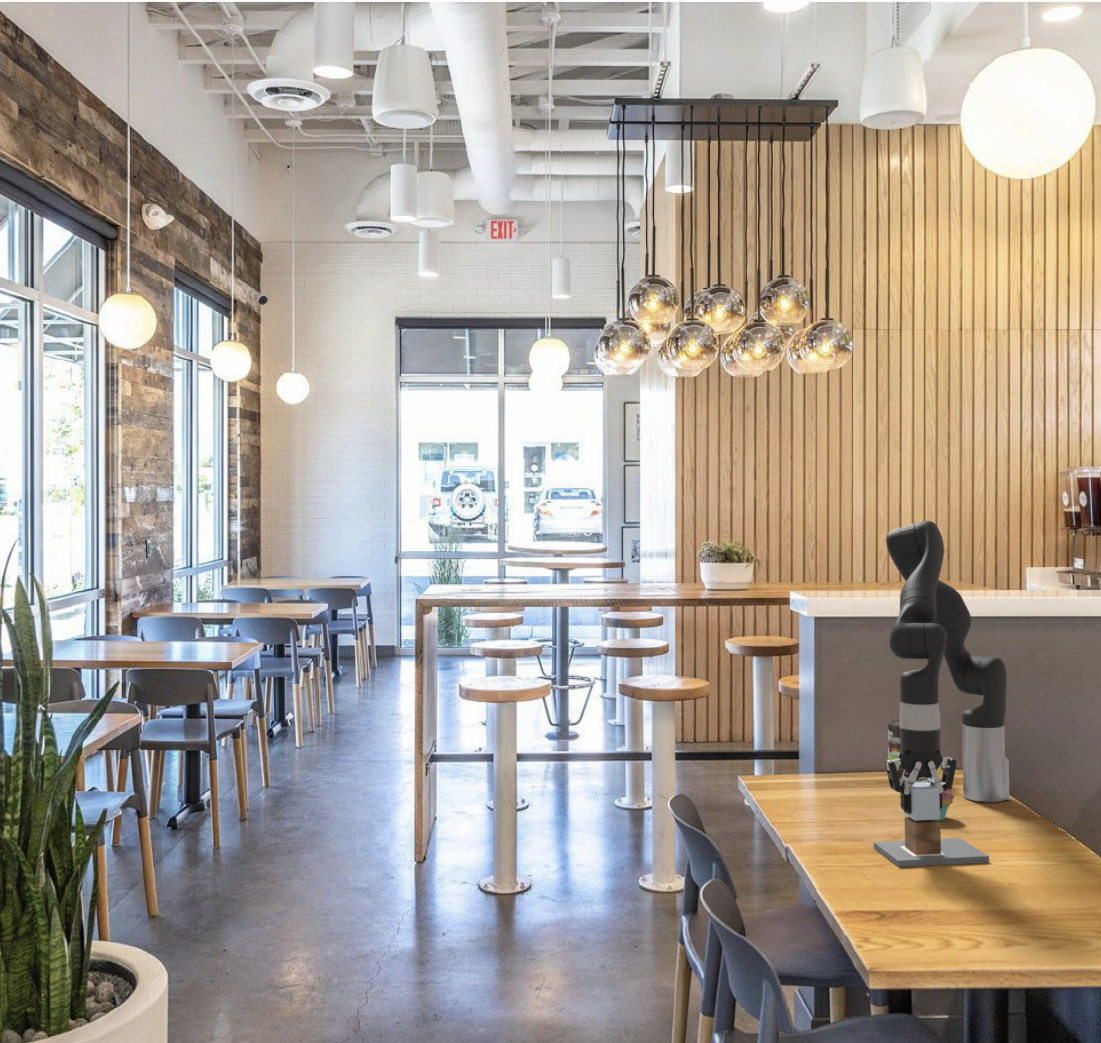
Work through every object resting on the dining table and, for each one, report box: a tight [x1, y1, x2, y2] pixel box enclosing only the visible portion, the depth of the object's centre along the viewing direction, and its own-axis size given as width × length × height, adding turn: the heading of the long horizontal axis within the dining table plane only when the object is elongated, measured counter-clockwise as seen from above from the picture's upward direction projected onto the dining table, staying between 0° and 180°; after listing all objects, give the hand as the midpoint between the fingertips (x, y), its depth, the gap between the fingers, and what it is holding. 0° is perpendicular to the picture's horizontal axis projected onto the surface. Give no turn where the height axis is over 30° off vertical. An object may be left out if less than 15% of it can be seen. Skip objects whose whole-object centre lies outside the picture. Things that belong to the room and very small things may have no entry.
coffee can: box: [886, 718, 929, 783], centre depth 276 cm, size 10×10×14 cm
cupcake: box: [935, 764, 954, 822], centre depth 240 cm, size 9×8×12 cm
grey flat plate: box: [873, 837, 990, 868], centre depth 214 cm, size 18×12×1 cm, turn 95°
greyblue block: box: [903, 781, 940, 821], centre depth 213 cm, size 5×5×6 cm
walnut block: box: [904, 816, 942, 855], centre depth 213 cm, size 5×5×6 cm
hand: (921, 811), depth 213 cm, fingers open, 5 cm apart
